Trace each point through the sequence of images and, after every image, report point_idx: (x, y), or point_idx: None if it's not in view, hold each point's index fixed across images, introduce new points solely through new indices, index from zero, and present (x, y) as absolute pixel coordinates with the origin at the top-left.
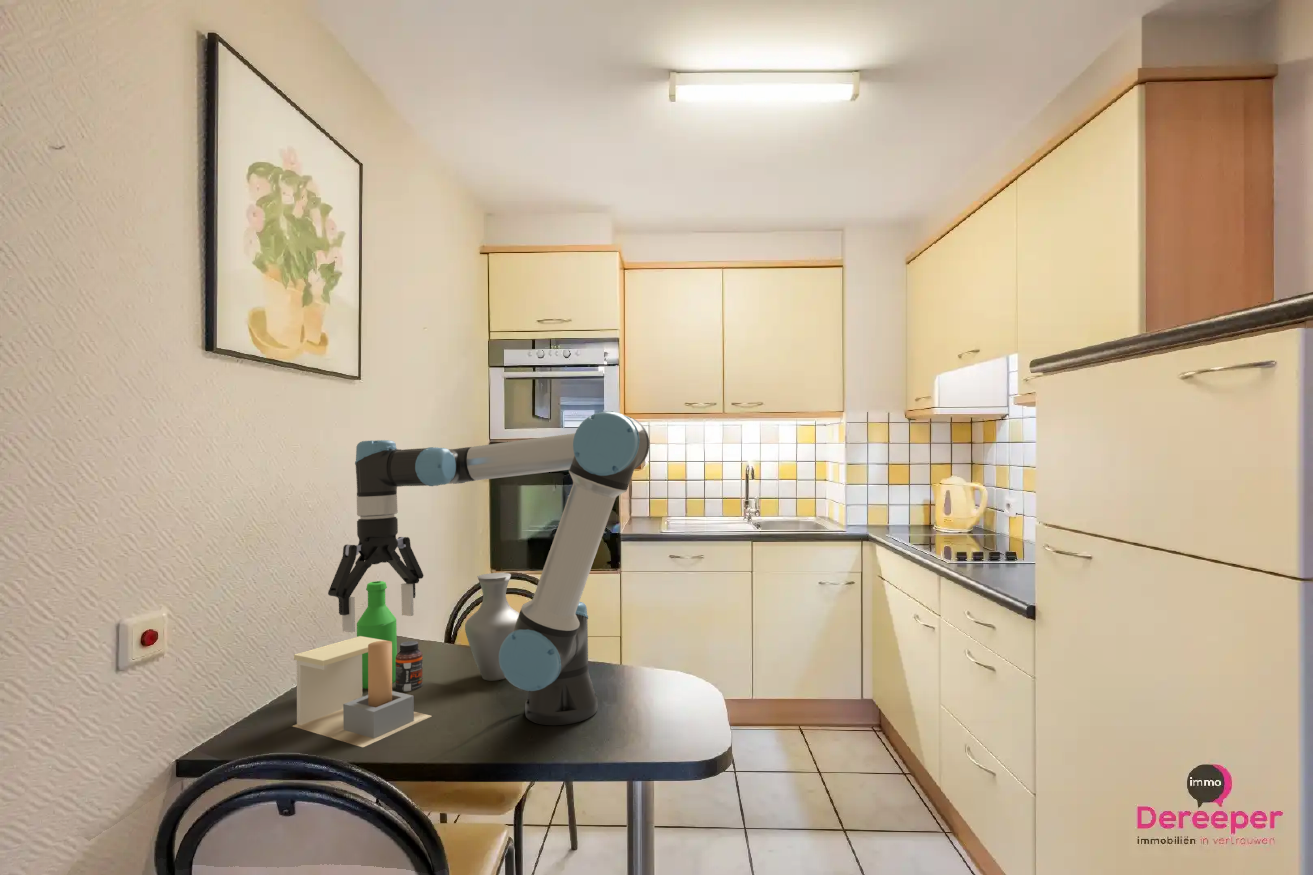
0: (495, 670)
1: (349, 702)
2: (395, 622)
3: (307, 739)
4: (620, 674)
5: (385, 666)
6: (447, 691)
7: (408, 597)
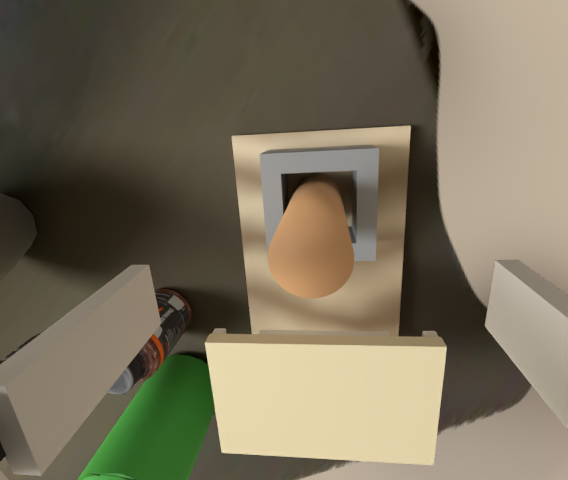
0: (5, 202)
1: (362, 257)
2: (84, 474)
3: (406, 283)
4: None
5: (319, 200)
6: (121, 245)
7: (90, 333)
